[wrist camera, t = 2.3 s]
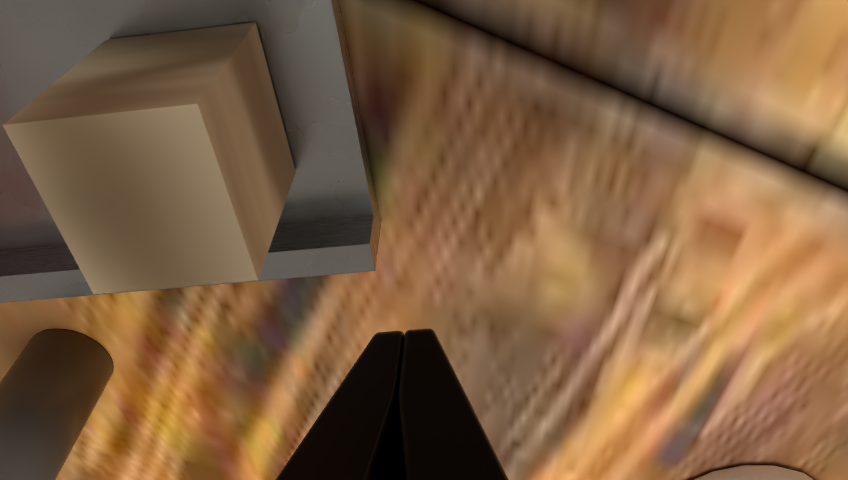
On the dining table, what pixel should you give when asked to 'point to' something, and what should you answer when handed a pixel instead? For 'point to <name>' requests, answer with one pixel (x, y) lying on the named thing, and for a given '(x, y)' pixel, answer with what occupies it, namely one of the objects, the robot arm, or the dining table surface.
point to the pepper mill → (49, 402)
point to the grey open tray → (298, 104)
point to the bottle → (755, 473)
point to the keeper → (162, 159)
